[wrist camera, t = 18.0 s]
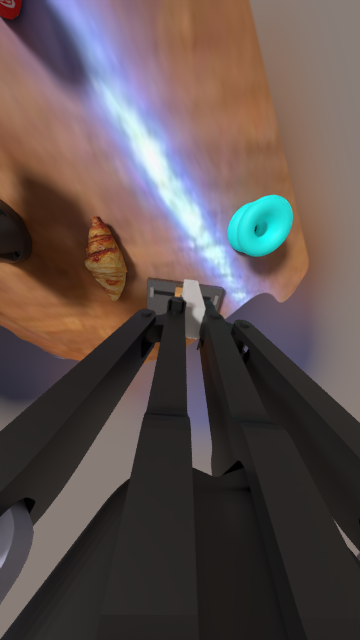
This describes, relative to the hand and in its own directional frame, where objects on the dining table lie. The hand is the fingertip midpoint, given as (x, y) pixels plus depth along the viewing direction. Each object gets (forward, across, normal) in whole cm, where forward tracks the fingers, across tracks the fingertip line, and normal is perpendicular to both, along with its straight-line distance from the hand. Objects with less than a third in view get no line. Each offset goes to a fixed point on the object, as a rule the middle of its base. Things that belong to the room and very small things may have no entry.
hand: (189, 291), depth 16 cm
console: (+26, +1, -15) cm, 30 cm away
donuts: (+27, +14, +8) cm, 31 cm away
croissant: (+27, -21, -4) cm, 34 cm away
